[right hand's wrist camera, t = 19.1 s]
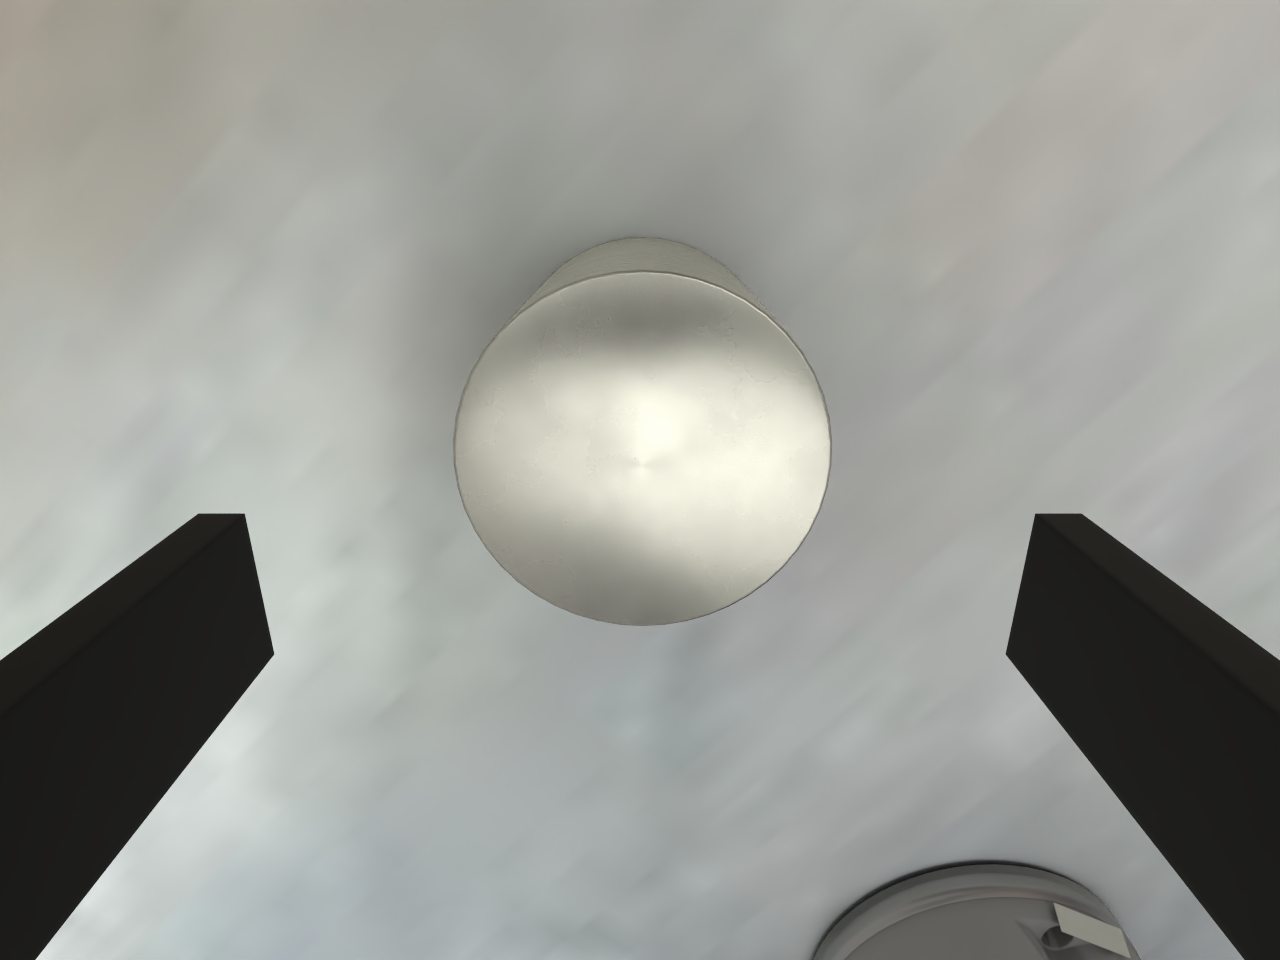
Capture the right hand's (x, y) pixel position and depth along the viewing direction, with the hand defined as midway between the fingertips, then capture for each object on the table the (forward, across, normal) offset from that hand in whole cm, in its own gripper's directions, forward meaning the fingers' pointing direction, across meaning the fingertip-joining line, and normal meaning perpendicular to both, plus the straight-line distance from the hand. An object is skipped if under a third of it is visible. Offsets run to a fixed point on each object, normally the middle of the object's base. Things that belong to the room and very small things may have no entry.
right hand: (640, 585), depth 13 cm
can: (+14, 0, 0) cm, 14 cm away
